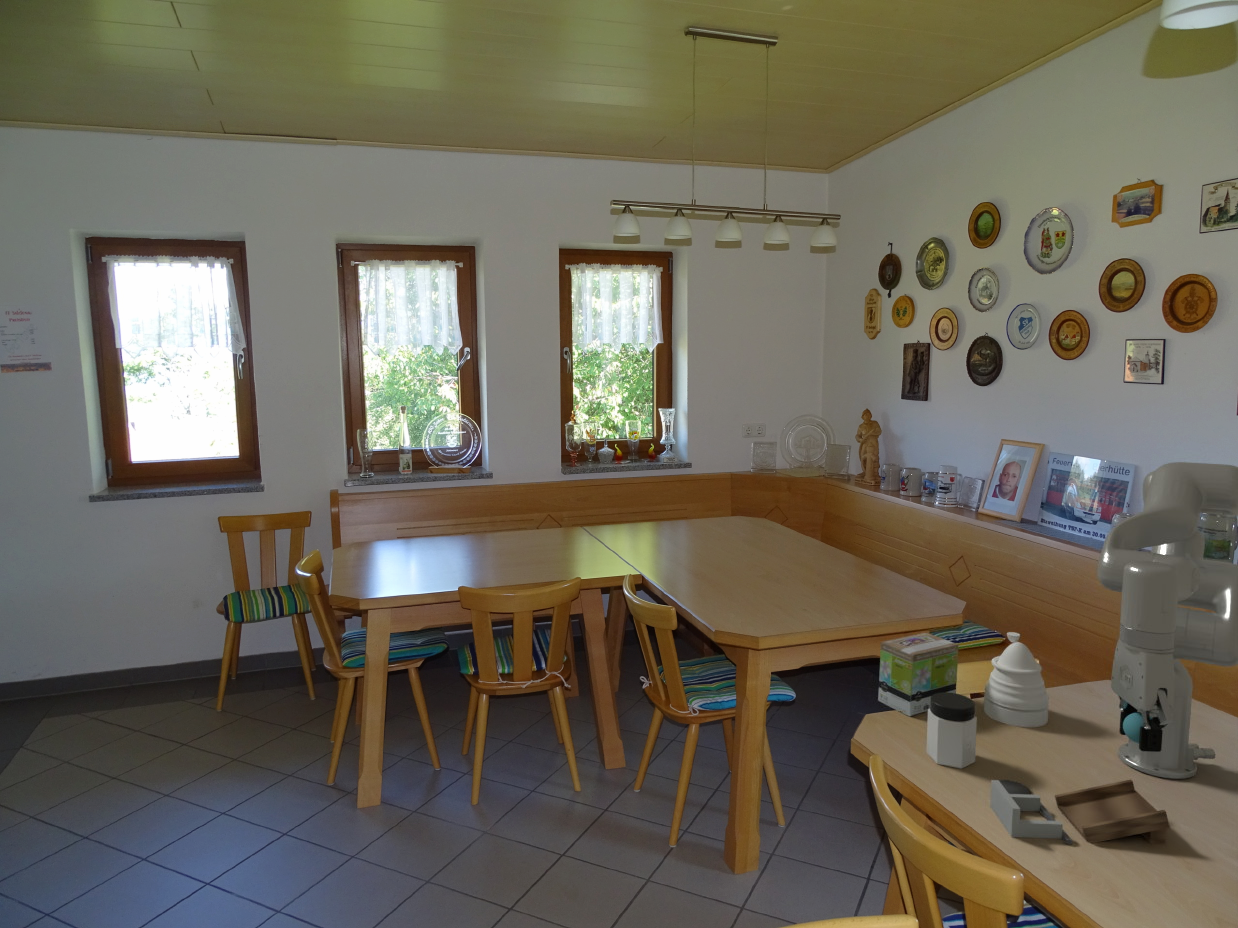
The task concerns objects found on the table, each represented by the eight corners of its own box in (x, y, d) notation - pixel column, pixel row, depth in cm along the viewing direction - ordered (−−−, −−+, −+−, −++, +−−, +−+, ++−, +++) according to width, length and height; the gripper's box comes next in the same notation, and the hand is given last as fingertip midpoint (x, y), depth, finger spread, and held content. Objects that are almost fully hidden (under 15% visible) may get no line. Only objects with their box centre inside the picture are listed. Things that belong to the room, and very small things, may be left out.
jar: (955, 772, 148) (958, 713, 147) (918, 755, 155) (920, 698, 153) (982, 759, 153) (985, 701, 152) (945, 743, 160) (947, 688, 158)
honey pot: (972, 703, 179) (975, 628, 176) (1024, 700, 180) (1027, 626, 178) (1005, 729, 166) (1009, 648, 164) (1061, 725, 167) (1065, 645, 165)
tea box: (911, 718, 172) (913, 654, 170) (877, 701, 181) (878, 640, 179) (957, 704, 179) (959, 642, 177) (922, 688, 187) (924, 630, 186)
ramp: (1133, 811, 135) (1135, 779, 134) (1168, 846, 125) (1170, 811, 124) (1053, 809, 136) (1055, 777, 135) (1082, 843, 126) (1084, 808, 125)
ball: (1115, 735, 131) (1117, 707, 131) (1146, 736, 131) (1148, 707, 130) (1132, 749, 126) (1134, 720, 126) (1164, 750, 126) (1167, 721, 125)
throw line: (1038, 803, 137) (1038, 799, 137) (1071, 844, 125) (1071, 839, 125) (1033, 803, 137) (1033, 799, 137) (1066, 843, 125) (1066, 839, 125)
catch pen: (1037, 807, 136) (1038, 781, 135) (1061, 838, 127) (1063, 809, 126) (990, 806, 137) (991, 779, 136) (1011, 836, 128) (1012, 808, 127)
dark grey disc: (1022, 782, 144) (1022, 780, 144) (1037, 801, 138) (1037, 798, 138) (987, 781, 145) (987, 779, 145) (1000, 799, 139) (1000, 797, 139)
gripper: (1095, 620, 135) (1089, 719, 137) (1153, 655, 118) (1145, 767, 120) (1140, 621, 134) (1134, 720, 136) (1205, 656, 118) (1196, 768, 120)
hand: (1139, 741), depth 128 cm, fingers closed on ball, 4 cm apart
